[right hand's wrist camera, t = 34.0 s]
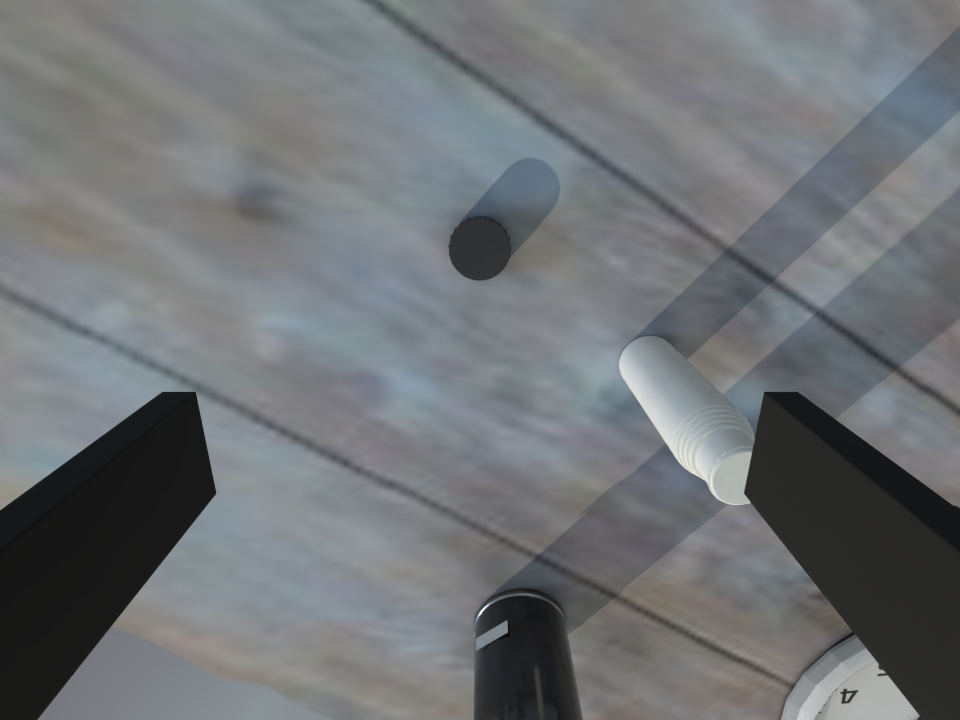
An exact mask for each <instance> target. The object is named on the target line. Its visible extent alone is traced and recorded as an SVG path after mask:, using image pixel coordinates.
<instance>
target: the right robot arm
mask: <svg viewBox="0 0 960 720" xmlns="http://www.w3.org/2000/svg"><path fill="white" fill-rule="evenodd" d="M215 494H216V490H215V485H214V480H213V475H212V470H211V465H210V460H209V455H208V450H207V445H206V440H205V435H204V431H203V426H202V421H201V416H200V411H199V406H198V401H197V396H196V392H162V393H160V394H159V395H158V396H156V397H155V398H154V399H152V400H151V401H149V402H148V403H147V404H145V405H144V406H143V407H141V408H140V409H138V410H137V411H136V412H134V413H133V414H132V415H130V416H129V417H128V418H126V419H125V420H123V421H122V422H121V423H119V424H118V425H117V426H115V427H114V428H112V429H111V430H110V431H108V432H107V433H106V434H104V435H103V436H102V437H100V438H99V439H97V440H96V441H95V442H93V443H92V444H91V445H89V446H88V447H86V448H85V449H84V450H82V451H81V452H80V453H78V454H77V455H76V456H74V457H73V458H71V459H70V460H69V461H67V462H66V463H65V464H63V465H62V466H60V467H59V468H58V469H56V470H55V471H54V472H52V473H51V474H50V475H48V476H47V477H45V478H44V479H43V480H41V481H40V482H39V483H37V484H36V485H34V486H33V487H32V488H30V489H29V490H28V491H26V492H25V493H23V494H22V495H21V496H19V497H18V498H17V499H15V500H14V501H13V502H11V503H10V504H8V505H7V506H6V507H4V508H3V509H2V510H0V720H37V719H38V718H39V717H40V716H41V714H42V713H43V712H44V711H45V709H46V708H47V707H48V706H49V704H50V703H51V702H52V700H53V699H54V698H55V697H56V695H57V694H58V693H59V692H60V690H61V689H62V688H63V687H64V685H65V684H66V683H67V681H68V680H69V679H70V678H71V676H72V675H73V674H74V673H75V671H76V670H77V669H78V668H79V666H80V665H81V664H82V663H83V661H84V660H85V659H86V658H87V656H88V655H89V654H90V652H91V651H92V650H93V649H94V647H95V646H96V645H97V644H98V642H99V641H100V640H101V639H102V637H103V636H104V635H105V633H106V632H107V631H108V630H109V628H110V627H111V626H112V625H113V623H114V622H115V621H116V620H117V618H118V617H119V616H120V615H121V613H122V612H123V611H124V609H125V608H126V607H127V606H128V604H129V603H130V602H131V601H132V599H133V598H134V597H135V596H136V594H137V593H138V592H139V591H140V589H141V588H142V587H143V585H144V584H145V583H146V582H147V580H148V579H149V578H150V577H151V575H152V574H153V573H154V572H155V570H156V569H157V568H158V566H159V565H160V564H161V563H162V561H163V560H164V559H165V558H166V556H167V555H168V554H169V553H170V551H171V550H172V549H173V548H174V546H175V545H176V544H177V542H178V541H179V540H180V539H181V537H182V536H183V535H184V534H185V532H186V531H187V530H188V529H189V527H190V526H191V525H192V524H193V522H194V521H195V520H196V518H197V517H198V516H199V515H200V513H201V512H202V511H203V510H204V508H205V507H206V506H207V505H208V503H209V502H210V501H211V499H212V498H213V497H214V496H215ZM744 494H745V496H746V497H747V498H748V499H749V501H750V502H751V503H752V505H753V506H754V507H755V508H756V510H757V511H758V512H759V513H760V515H761V516H762V517H763V518H764V520H765V521H766V522H767V524H768V525H769V526H770V527H771V529H772V530H773V531H774V532H775V534H776V535H777V536H778V537H779V539H780V540H781V541H782V542H783V544H784V545H785V546H786V548H787V549H788V550H789V551H790V553H791V554H792V555H793V556H794V558H795V559H796V560H797V561H798V563H799V564H800V565H801V566H802V568H803V569H804V570H805V572H806V573H807V574H808V575H809V577H810V578H811V579H812V580H813V582H814V583H815V584H816V585H817V587H818V588H819V589H820V591H821V592H822V593H823V594H824V596H825V597H826V598H827V599H828V601H829V602H830V603H831V604H832V606H833V607H834V608H835V609H836V611H837V612H838V613H839V615H840V616H841V617H842V618H843V620H844V621H845V622H846V623H847V625H848V626H849V627H850V628H851V630H852V631H853V632H854V633H855V635H856V636H857V637H858V639H859V640H860V641H861V642H862V644H863V645H864V646H865V647H866V649H867V650H868V651H869V652H870V654H871V655H872V656H873V658H874V659H875V660H876V661H877V663H878V664H879V665H880V666H881V668H882V669H883V670H884V671H885V673H886V674H887V675H888V676H889V678H890V679H891V680H892V682H893V683H894V684H895V685H896V687H897V688H898V689H899V690H900V692H901V693H902V694H903V695H904V697H905V698H906V699H907V700H908V702H909V703H910V704H911V706H912V707H913V708H914V709H915V711H916V712H917V713H918V714H919V716H920V717H921V718H922V719H923V720H960V508H959V507H957V506H953V505H952V504H950V503H949V502H947V501H946V500H945V499H943V498H942V497H941V496H939V495H938V494H937V493H935V492H934V491H932V490H931V489H930V488H928V487H927V486H926V485H924V484H923V483H921V482H920V481H919V480H917V479H916V478H915V477H913V476H912V475H910V474H909V473H908V472H906V471H905V470H904V469H902V468H901V467H900V466H898V465H897V464H895V463H894V462H893V461H891V460H890V459H889V458H887V457H886V456H884V455H883V454H882V453H880V452H879V451H878V450H876V449H875V448H874V447H872V446H871V445H869V444H868V443H867V442H865V441H864V440H863V439H861V438H860V437H858V436H857V435H856V434H854V433H853V432H852V431H850V430H849V429H848V428H846V427H845V426H843V425H842V424H841V423H839V422H838V421H837V420H835V419H834V418H832V417H831V416H830V415H828V414H827V413H826V412H824V411H823V410H822V409H820V408H819V407H817V406H816V405H815V404H813V403H812V402H811V401H809V400H808V399H806V398H805V397H804V396H802V395H801V394H800V393H798V392H764V396H763V401H762V406H761V411H760V416H759V421H758V426H757V431H756V435H755V440H754V445H753V450H752V455H751V460H750V465H749V470H748V475H747V480H746V485H745V490H744Z"/></svg>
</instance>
